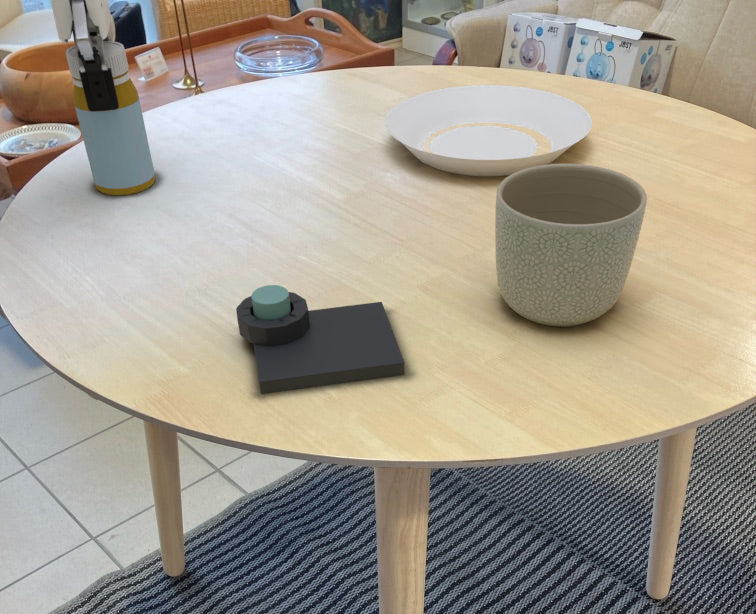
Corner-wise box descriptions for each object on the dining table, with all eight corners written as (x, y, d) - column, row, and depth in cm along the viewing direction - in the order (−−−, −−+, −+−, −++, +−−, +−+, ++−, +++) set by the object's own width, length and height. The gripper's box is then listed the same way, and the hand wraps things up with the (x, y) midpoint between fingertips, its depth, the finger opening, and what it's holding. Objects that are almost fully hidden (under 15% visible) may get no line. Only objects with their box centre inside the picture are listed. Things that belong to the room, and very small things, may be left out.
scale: (249, 400, 70) (243, 364, 68) (239, 329, 78) (234, 295, 76) (404, 379, 72) (404, 343, 69) (380, 311, 79) (379, 277, 77)
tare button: (255, 324, 73) (252, 305, 71) (252, 305, 75) (249, 287, 74) (292, 319, 73) (290, 301, 72) (288, 300, 75) (286, 282, 74)
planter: (548, 359, 73) (563, 240, 65) (462, 298, 81) (467, 185, 73) (654, 315, 77) (679, 199, 70) (563, 262, 85) (577, 152, 78)
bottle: (168, 181, 102) (141, 44, 92) (128, 203, 98) (95, 62, 88) (125, 171, 105) (94, 36, 95) (84, 192, 101) (47, 53, 91)
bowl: (577, 199, 95) (581, 167, 93) (362, 181, 101) (361, 151, 98) (595, 119, 113) (600, 90, 110) (411, 107, 118) (411, 80, 116)
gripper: (30, -108, 88) (77, 76, 101) (9, -78, 76) (65, 128, 88) (104, -112, 89) (141, 71, 101) (95, -83, 77) (138, 122, 89)
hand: (105, 96), depth 95 cm, fingers closed on bottle, 7 cm apart
